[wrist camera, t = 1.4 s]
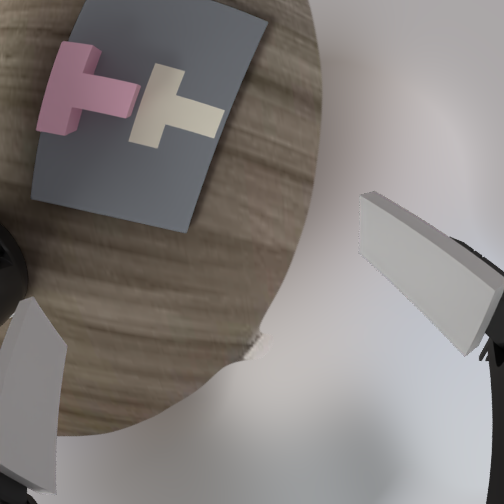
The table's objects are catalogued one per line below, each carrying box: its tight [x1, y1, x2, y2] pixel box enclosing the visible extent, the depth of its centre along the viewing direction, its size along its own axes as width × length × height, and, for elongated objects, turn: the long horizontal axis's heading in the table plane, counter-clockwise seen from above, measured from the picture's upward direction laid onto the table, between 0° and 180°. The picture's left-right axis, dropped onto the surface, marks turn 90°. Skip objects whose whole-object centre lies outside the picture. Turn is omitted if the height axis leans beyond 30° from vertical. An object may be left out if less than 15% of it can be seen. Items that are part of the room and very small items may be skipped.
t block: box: [36, 41, 141, 136], centre depth 21 cm, size 8×8×4 cm
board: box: [31, 0, 268, 233], centre depth 25 cm, size 18×24×1 cm
